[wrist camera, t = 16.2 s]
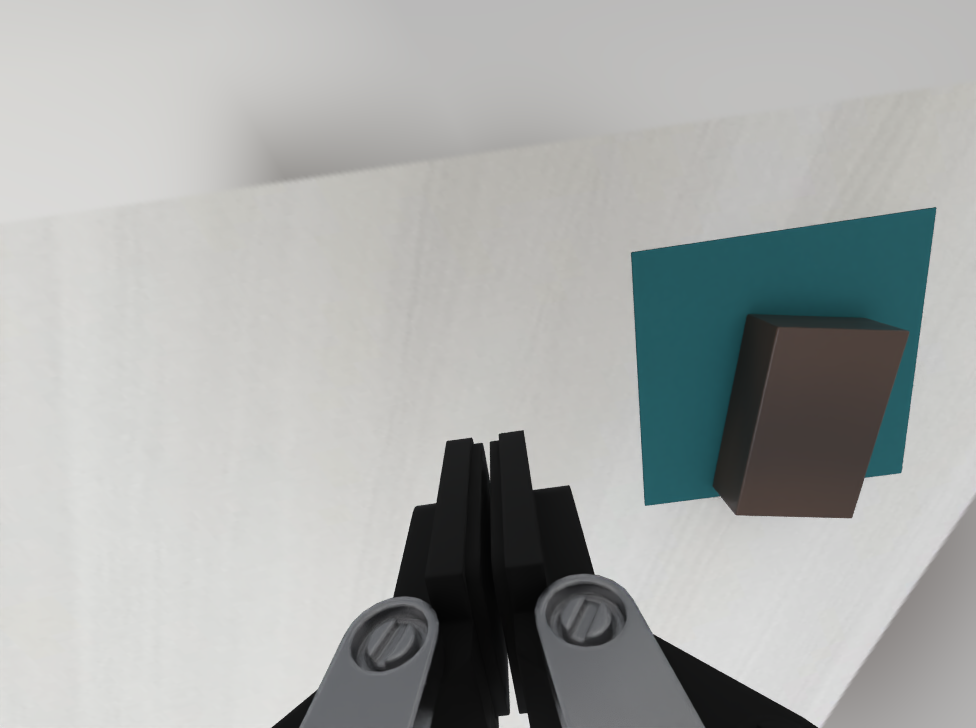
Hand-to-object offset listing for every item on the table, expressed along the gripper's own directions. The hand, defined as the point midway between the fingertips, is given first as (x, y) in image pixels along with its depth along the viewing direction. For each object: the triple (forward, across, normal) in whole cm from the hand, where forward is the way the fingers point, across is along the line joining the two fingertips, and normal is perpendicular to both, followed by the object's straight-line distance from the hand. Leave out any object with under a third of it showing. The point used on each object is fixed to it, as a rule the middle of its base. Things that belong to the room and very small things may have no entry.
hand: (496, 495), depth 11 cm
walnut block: (+13, -13, +6) cm, 19 cm away
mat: (+13, -13, +4) cm, 19 cm away
